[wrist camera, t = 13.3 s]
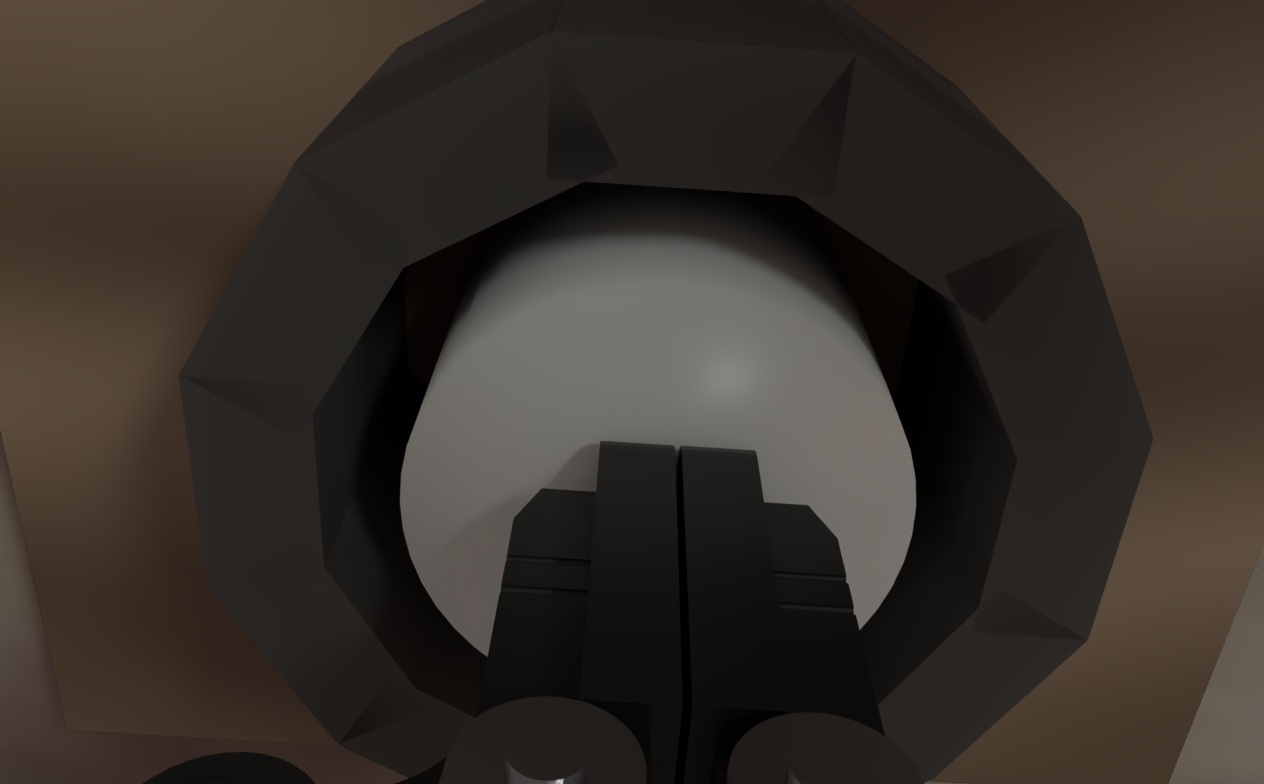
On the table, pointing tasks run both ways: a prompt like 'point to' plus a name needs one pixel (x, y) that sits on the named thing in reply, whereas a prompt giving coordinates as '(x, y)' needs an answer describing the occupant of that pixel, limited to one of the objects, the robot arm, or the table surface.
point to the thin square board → (649, 156)
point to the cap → (652, 378)
